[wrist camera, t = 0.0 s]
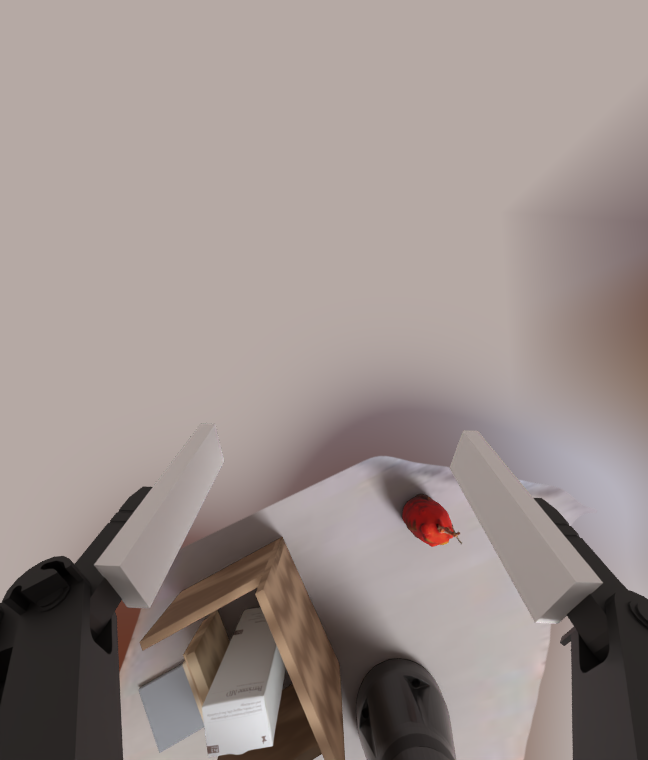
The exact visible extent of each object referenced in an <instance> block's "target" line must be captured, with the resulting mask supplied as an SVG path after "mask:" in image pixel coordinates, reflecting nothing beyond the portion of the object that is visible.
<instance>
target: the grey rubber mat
mask: <svg viewBox="0 0 648 760" xmlns="http://www.w3.org/2000/svg"><path fill="white" fill-rule="evenodd" d="M139 693H140V696H141V699H142V702H143V705H144V708H145V711H146V714H147V717H148V720H149V723H150V726H151V729H152V732H153V735H154V738H155V741H156V744H157V747H158V750H159V753H160V752H162V751H164V750H166V749H167V748H169V747H171V746H172V745H174V744H176V743H178V742H179V741H181V740H183V739H185V738H186V737H188V736H190V735H191V734H193V733H195V732H197V731H198V730H200V729H202V728H203V727H204V723H203V720H202V717H201V715H200V712H199V709H198V706H197V704H196V701H195V698H194V695H193V693H192V690H191V687H190V684H189V682H188V679H187V676H186V673H185V671H184V668H183V665H182V664H181V665H179V666H177V667H176V668H174V669H172V670H170V671H169V672H167V673H165V674H163V675H161V676H160V677H158V678H156V679H154V680H153V681H151V682H149V683H147V684H145V685H144V686H142V687H140V689H139Z"/></svg>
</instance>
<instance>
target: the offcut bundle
mask: <svg viewBox="0 0 648 760" xmlns="http://www.w3.org/2000/svg"><path fill="white" fill-rule="evenodd" d="M229 644H230V641H229V638H228V636H227V633H226V630H225V628H224V625H223V623H222V620H221V618H220V615H219V613H218V610H216V611H214V612H212V613H210V615H209V617H208V618H207V619H206V620H204V621H203V622H202V624H201V625H200V627H199V629H198V631H197V632H196V634H195V636H194V637H193V639H192V641H191V642H190V644H189V646H188V647H187V649H186V651H185V653H184V654H183V656H184V659H185V661H184V663H183V664H182V665H183V668H184V671H185V673H186V676H187V679H188V682H189V684H190V687H191V690H192V693H193V695H194V698H195V701H196V704H197V706H198V709H199V712H200V715H201V717H202V720H203V714H202V706H203V703H204V701H205V699H206V696H207V694H208V692H209V690H210V687H211V685H212V683H213V680H214V678H215V676H216V673H217V671H218V669H219V667H220V664H221V662H222V660H223V657H224V655H225V653H226V651H227V648H228V646H229ZM203 723H204V722H203Z"/></svg>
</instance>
